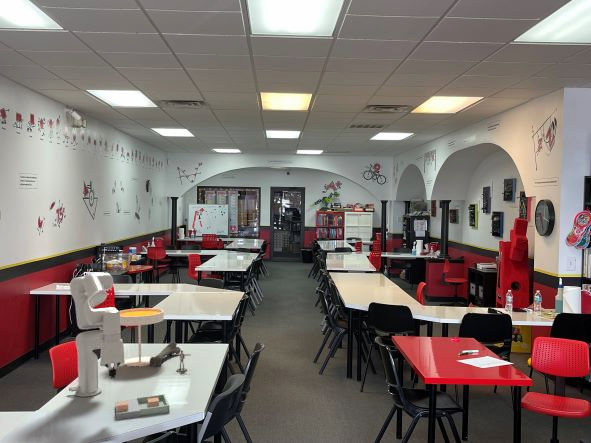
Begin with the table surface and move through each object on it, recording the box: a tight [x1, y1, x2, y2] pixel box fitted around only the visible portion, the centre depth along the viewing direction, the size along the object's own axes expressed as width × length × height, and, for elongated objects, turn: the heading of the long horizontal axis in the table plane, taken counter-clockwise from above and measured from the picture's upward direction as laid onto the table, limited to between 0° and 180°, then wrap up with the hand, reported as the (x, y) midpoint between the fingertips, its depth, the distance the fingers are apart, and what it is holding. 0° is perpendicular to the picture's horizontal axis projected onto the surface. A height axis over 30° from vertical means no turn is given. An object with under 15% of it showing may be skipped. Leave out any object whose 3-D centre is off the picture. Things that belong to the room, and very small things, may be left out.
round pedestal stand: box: [118, 307, 165, 368], centre depth 332 cm, size 30×30×31 cm
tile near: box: [115, 400, 128, 411], centre depth 245 cm, size 5×5×2 cm
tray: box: [136, 393, 170, 417], centre depth 253 cm, size 13×17×3 cm
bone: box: [149, 341, 181, 368], centre depth 337 cm, size 32×10×9 cm, turn 169°
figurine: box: [172, 349, 191, 373], centre depth 313 cm, size 11×7×12 cm, turn 81°
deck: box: [114, 398, 141, 420], centre depth 248 cm, size 10×17×2 cm, turn 21°
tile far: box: [147, 398, 159, 407], centre depth 255 cm, size 5×5×2 cm
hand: (112, 377), depth 245 cm, fingers closed
